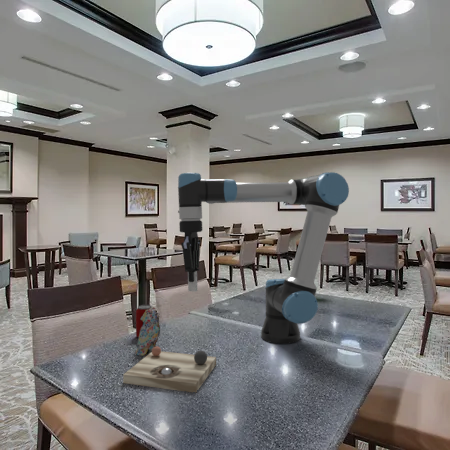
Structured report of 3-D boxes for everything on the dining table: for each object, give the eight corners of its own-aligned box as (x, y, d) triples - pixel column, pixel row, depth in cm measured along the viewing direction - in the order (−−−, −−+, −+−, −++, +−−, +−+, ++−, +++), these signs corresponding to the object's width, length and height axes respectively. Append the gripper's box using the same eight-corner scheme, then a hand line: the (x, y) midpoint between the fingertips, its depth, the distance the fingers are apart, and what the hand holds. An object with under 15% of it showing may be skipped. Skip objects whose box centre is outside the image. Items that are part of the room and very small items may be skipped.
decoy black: (208, 362, 111) (208, 349, 111) (204, 367, 107) (204, 354, 107) (196, 360, 112) (196, 348, 112) (192, 366, 108) (192, 352, 108)
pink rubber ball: (162, 354, 117) (162, 345, 117) (158, 358, 114) (158, 348, 114) (154, 353, 118) (154, 344, 118) (150, 357, 115) (149, 347, 115)
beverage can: (149, 340, 138) (149, 309, 138) (133, 339, 139) (132, 308, 139) (156, 334, 144) (156, 304, 144) (140, 333, 146) (140, 304, 146)
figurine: (133, 348, 129) (132, 307, 129) (157, 344, 133) (157, 304, 133) (137, 356, 121) (136, 312, 121) (163, 352, 125) (162, 310, 125)
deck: (153, 357, 121) (153, 350, 120) (216, 364, 115) (216, 357, 115) (123, 383, 102) (123, 374, 102) (196, 392, 96) (195, 383, 96)
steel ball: (173, 379, 105) (174, 367, 106) (169, 380, 102) (170, 367, 103) (162, 379, 106) (163, 367, 107) (158, 380, 102) (159, 367, 104)
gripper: (186, 219, 126) (188, 286, 126) (172, 220, 113) (175, 295, 114) (207, 219, 124) (209, 287, 125) (195, 220, 111) (197, 295, 112)
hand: (192, 290), depth 119 cm, fingers closed
